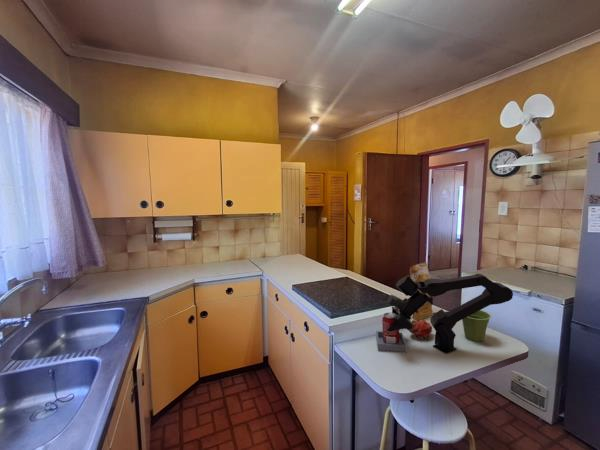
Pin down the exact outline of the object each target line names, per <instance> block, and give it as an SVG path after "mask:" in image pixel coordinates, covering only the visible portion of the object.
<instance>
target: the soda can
mask: <svg viewBox="0 0 600 450" xmlns="http://www.w3.org/2000/svg"><path fill="white" fill-rule="evenodd" d="M395 316H396V317H397V315H396V314H395V313H392V312H385V313H383V316H382V319H381V321H382V332H383V341H384V342H385V343H387V344H398V343H399V333H400V329H399V330H395V331H391V332H389V331H388V330H387V329H388V328H389V327H390V326H391V324H392V323H393V322H394V321H395Z"/></svg>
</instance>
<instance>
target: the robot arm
mask: <svg viewBox="0 0 600 450" xmlns="http://www.w3.org/2000/svg"><path fill="white" fill-rule="evenodd" d="M481 286H482V287H483V288H484V290H483V291H482V292H481V294H479V295H477V296H476V297H473V298H472V299H470V300H467V302H464V303H462V304H461V305H458V306H457V307H455V308H453V309H451V310H448V311H444V310H443V309H442V308H441V309H439V310H438V311H437V312H433V315H431V317H430V319H429V320H430V322H429V323H430V325H431V326H432V329H434V330H435V333H434V344H433V345H432V347H433V348H435V349H436V350H437V351H440V352H441V353H444V354H446V355H447V354H450V353H452V352H455V351H457V348H456V347H455V338H456V336H457V334H456V333H455V331H454V330H453V329H454V327H455V326H456V324H457V323H458V322H461V321H462V319H464V318H466V317H468V316H470V315H472V314H474V313H476V312H477V311H479V310H484V309H485V308H487V307H489V306H492V305H500V304H503V303H504V304H505V303H507V302H510V301H511V300H512V299H513V297H514V296H513V295H514V292H513V290H512V289H511V288H510V287H508V286H506V285H504V284H502V283H501V282H495V281H492V280H490V279H489V278H488V277H487V276H485V275H484V274H482V273H476V274H472V275H465V276H459V277H453V278H447V279H441V278H430V279H427V280H425V281H422V282H414V281H413V280H412V279H411V278H410V275H409V274H407V275H406V276H404V277H401V278H400V279H399V280H398V281H397V282H396V283H395V287H396V288H398V290H400V292H401V293H402V294H404V295H405V296H407V297H408V298H407V297H406V298H405V297H404V299H401V298H400V297H398V296H396V295H394V294H390V296H389V298H388V299H387V302H388V305H390V306H391V313H395V314H396V315H397V317H396V316H395V321H394V322H393V323H392V324H391V326H390V327H389V328H388V329H387V330H388V331H389V332H391V331H395V330H399V331H400V330H403V329H405V330H407V331H409V330H411V329H412V328H413V326H412V320H411V319H412V317H413V314H414V313H415V312H416V313H418V312H419V311H418V310H419V309H420V308H421V307H422V306H423V305H424V304H425V303H426V302H429V303H430V304H431V305H432V306H433V305H434V298H433V297H438V296H441V295H444V294H445V293H448V292H450V291H455V290H461V289H467V288H474V287H481ZM418 289H419V290H420V291H421V292H420V291H419V290H418ZM426 293H427V294H428V295H430V296H428V295H427V294H426ZM409 332H410V331H409Z"/></svg>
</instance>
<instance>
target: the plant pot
mask: <svg viewBox="0 0 600 450" xmlns="http://www.w3.org/2000/svg"><path fill="white" fill-rule="evenodd" d="M490 319H492V316H491V314H490V313H488V312H487V311H485V310H483V309H481V310H479V311H477V312H476V313H474V314H472V315H470V316H468V317H466V318H464V319H462V320H461V321H462V326H463V332H464V333H463V334H464V337H465V338H466V339H467V340H470V341H475V342H483V341H484V340H485V337H486V336H485V335H486V333H487V328H488V325H489V321H490Z"/></svg>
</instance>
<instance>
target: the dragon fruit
mask: <svg viewBox="0 0 600 450" xmlns="http://www.w3.org/2000/svg"><path fill="white" fill-rule="evenodd" d="M411 322H412V326H413V328H412V329H411V330H409V333H410V334H411V335H412V337H416V338H420V339H423V340H424V339H426V338H429V336H430V335H431V334H432V332H433V326H432V324H431V322H427V321H426V320H425V319H421V320H414V319H413V320H411Z"/></svg>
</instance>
